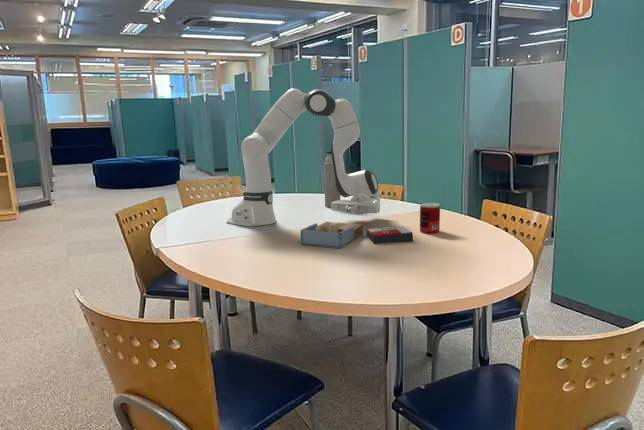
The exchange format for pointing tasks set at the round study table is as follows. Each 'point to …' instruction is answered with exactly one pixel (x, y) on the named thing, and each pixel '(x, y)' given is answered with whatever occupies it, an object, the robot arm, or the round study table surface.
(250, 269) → the round study table surface
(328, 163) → the thermos bottle
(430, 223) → the canned food
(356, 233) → the walnut plate
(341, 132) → the robot arm
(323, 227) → the oak block
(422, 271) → the round study table surface
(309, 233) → the tray
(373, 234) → the calculator
